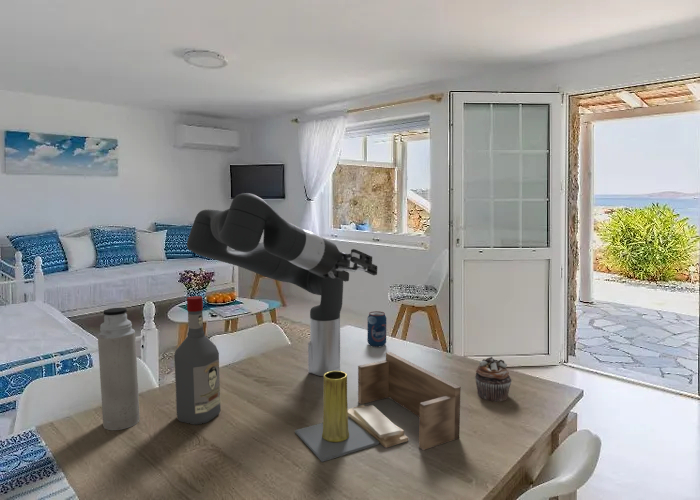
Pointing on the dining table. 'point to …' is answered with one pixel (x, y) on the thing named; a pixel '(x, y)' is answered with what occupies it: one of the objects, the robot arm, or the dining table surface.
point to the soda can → (376, 329)
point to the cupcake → (493, 380)
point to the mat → (335, 449)
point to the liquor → (197, 371)
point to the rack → (407, 402)
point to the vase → (335, 407)
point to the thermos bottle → (118, 371)
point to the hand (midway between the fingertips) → (361, 274)
